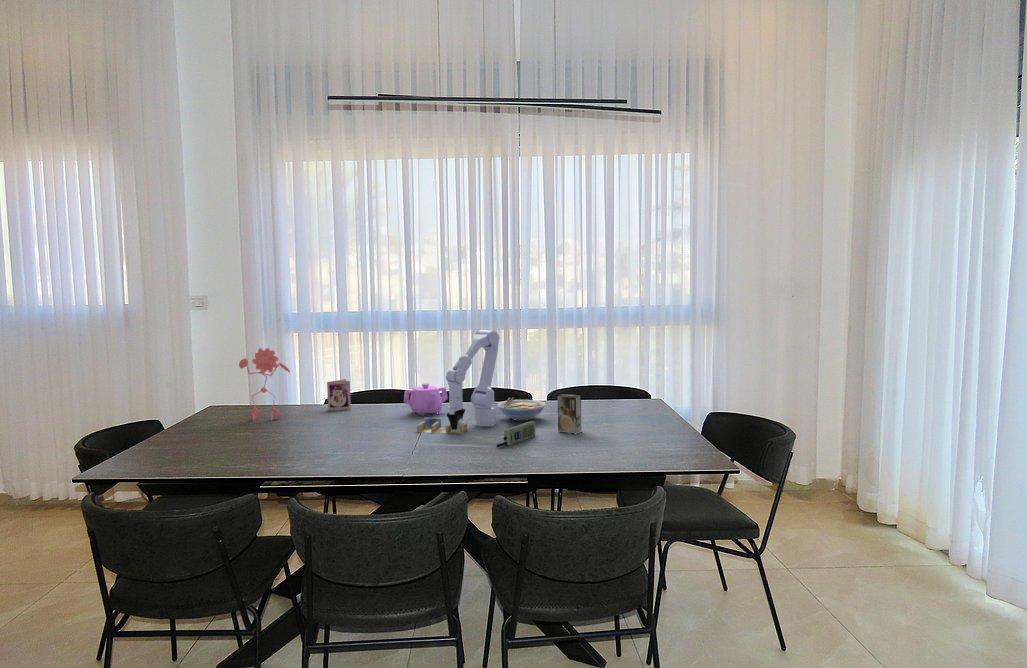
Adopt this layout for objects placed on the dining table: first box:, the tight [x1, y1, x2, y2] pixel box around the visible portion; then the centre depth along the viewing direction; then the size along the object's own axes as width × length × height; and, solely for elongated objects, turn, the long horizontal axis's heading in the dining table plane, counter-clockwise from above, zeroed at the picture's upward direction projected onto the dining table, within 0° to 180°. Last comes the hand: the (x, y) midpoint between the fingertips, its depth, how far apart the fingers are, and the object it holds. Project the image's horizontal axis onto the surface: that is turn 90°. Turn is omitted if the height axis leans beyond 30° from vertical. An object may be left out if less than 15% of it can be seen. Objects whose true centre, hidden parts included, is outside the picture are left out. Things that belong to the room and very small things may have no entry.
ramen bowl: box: [497, 396, 546, 421], centre depth 307 cm, size 25×23×8 cm
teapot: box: [403, 382, 449, 416], centre depth 323 cm, size 19×18×15 cm
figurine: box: [238, 347, 291, 422], centre depth 315 cm, size 15×26×35 cm, turn 86°
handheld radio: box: [496, 420, 536, 449], centre depth 265 cm, size 7×3×25 cm
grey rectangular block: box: [451, 417, 463, 432], centre depth 281 cm, size 4×4×6 cm
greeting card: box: [326, 378, 352, 412], centre depth 337 cm, size 11×7×15 cm, turn 104°
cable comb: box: [416, 417, 469, 435], centre depth 283 cm, size 20×11×5 cm, turn 80°
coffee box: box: [556, 393, 583, 434], centre depth 280 cm, size 9×6×16 cm
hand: (456, 427), depth 281 cm, fingers open, 7 cm apart
